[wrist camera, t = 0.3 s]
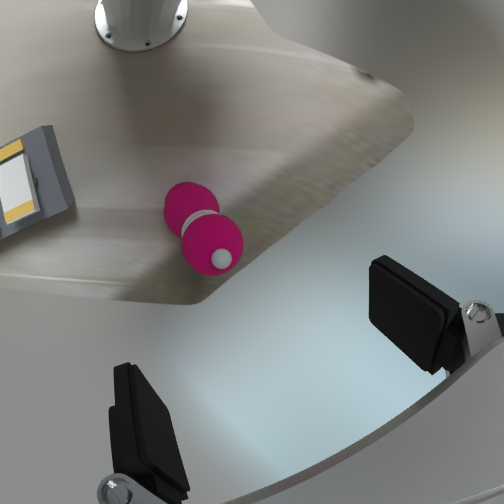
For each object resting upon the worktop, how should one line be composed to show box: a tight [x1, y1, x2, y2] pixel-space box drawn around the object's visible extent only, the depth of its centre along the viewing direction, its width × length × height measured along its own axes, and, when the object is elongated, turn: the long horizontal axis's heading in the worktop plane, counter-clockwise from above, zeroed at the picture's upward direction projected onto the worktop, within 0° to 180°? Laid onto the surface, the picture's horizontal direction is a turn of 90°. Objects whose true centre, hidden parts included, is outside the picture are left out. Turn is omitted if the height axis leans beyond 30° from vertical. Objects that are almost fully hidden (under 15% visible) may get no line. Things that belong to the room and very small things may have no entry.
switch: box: [0, 154, 40, 224], centre depth 28 cm, size 7×4×2 cm, turn 11°
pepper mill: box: [164, 182, 243, 276], centre depth 35 cm, size 7×7×20 cm
